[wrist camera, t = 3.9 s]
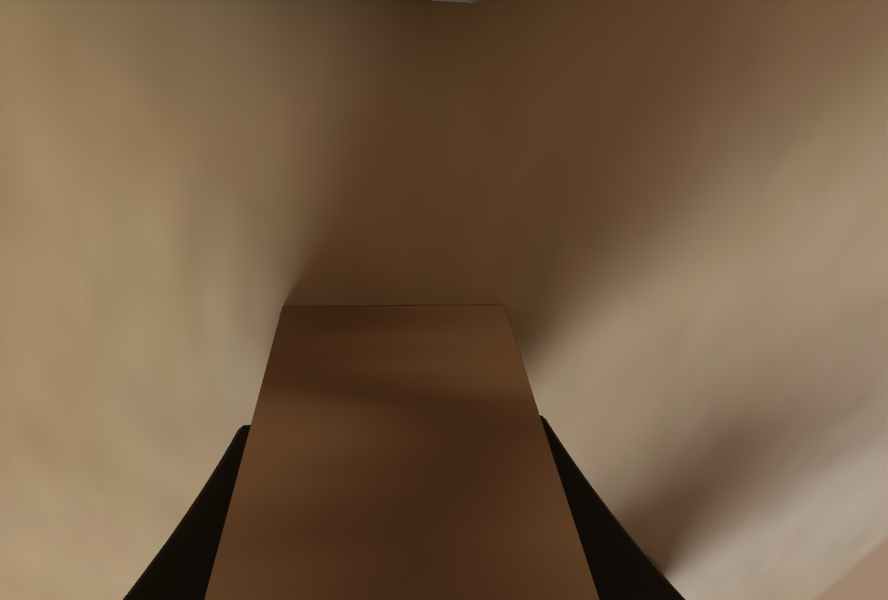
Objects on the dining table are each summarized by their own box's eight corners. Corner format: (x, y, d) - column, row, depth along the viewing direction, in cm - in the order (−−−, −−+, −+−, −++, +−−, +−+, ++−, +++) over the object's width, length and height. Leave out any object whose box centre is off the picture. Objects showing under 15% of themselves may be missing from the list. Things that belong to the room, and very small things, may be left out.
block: (304, 452, 13) (258, 756, 8) (282, 306, 10) (196, 630, 6) (481, 445, 14) (535, 728, 9) (503, 305, 11) (599, 599, 6)
